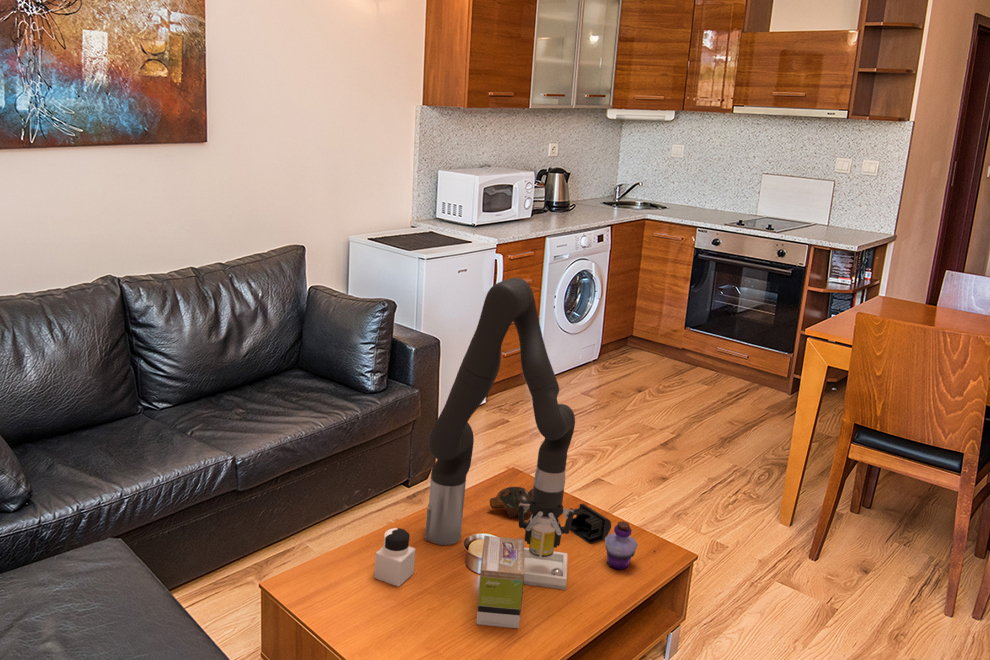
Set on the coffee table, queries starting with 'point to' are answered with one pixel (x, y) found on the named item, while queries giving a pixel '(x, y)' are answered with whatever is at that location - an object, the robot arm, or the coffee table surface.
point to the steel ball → (557, 572)
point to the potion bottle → (620, 546)
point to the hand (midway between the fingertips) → (541, 544)
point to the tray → (545, 570)
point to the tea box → (501, 582)
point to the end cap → (590, 524)
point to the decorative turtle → (512, 500)
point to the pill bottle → (542, 539)
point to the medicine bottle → (395, 558)
